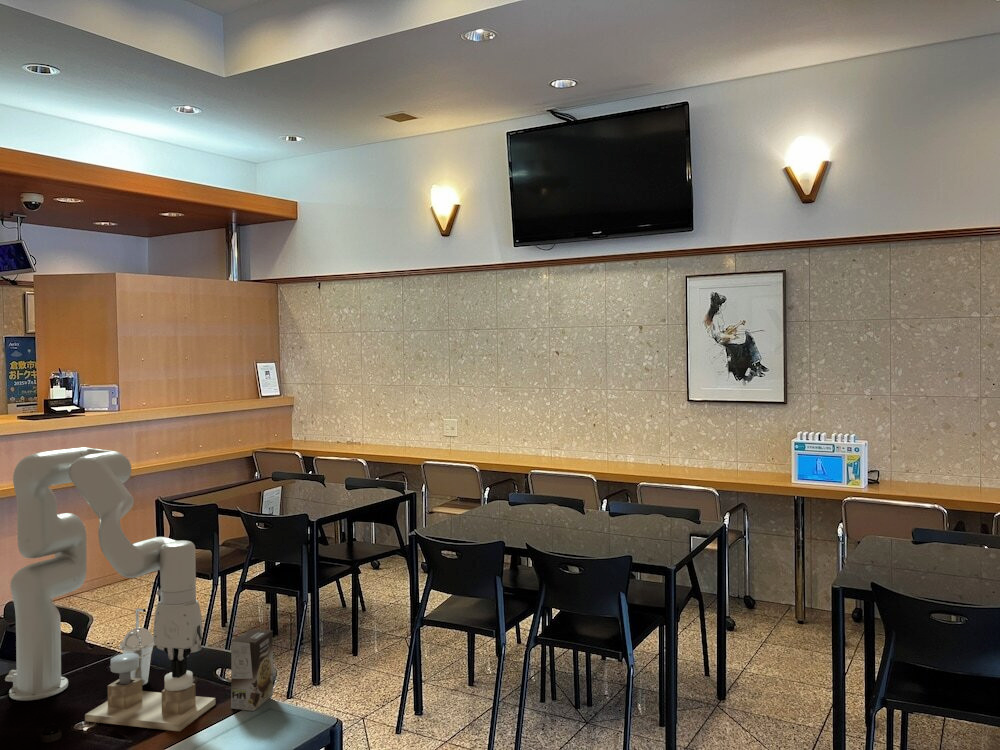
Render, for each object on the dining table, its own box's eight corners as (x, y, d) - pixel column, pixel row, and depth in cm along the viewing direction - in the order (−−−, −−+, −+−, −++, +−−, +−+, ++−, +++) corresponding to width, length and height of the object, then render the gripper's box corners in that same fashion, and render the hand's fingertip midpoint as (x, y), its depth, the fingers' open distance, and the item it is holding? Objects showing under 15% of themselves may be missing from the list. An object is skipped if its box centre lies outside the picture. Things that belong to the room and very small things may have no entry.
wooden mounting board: (85, 721, 178) (84, 692, 178) (126, 695, 192) (126, 668, 192) (179, 731, 173) (179, 702, 173) (215, 704, 187) (215, 677, 187)
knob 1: (104, 693, 182) (104, 661, 182) (122, 683, 188) (122, 652, 187) (127, 696, 180) (127, 663, 180) (144, 685, 186) (144, 654, 186)
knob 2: (159, 712, 179) (158, 679, 179) (175, 700, 185) (174, 669, 185) (182, 714, 178) (182, 681, 178) (198, 703, 184) (197, 671, 183)
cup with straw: (158, 674, 205) (158, 598, 204) (153, 688, 196) (153, 608, 196) (123, 678, 202) (122, 600, 202) (116, 692, 194) (115, 611, 193)
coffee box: (255, 711, 183) (255, 642, 183) (230, 709, 185) (229, 640, 184) (274, 695, 192) (273, 629, 192) (250, 693, 193) (249, 627, 193)
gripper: (138, 598, 179) (139, 679, 179) (198, 602, 176) (199, 684, 176) (159, 589, 186) (160, 666, 186) (216, 592, 183) (217, 671, 183)
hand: (179, 675), depth 181 cm, fingers closed
